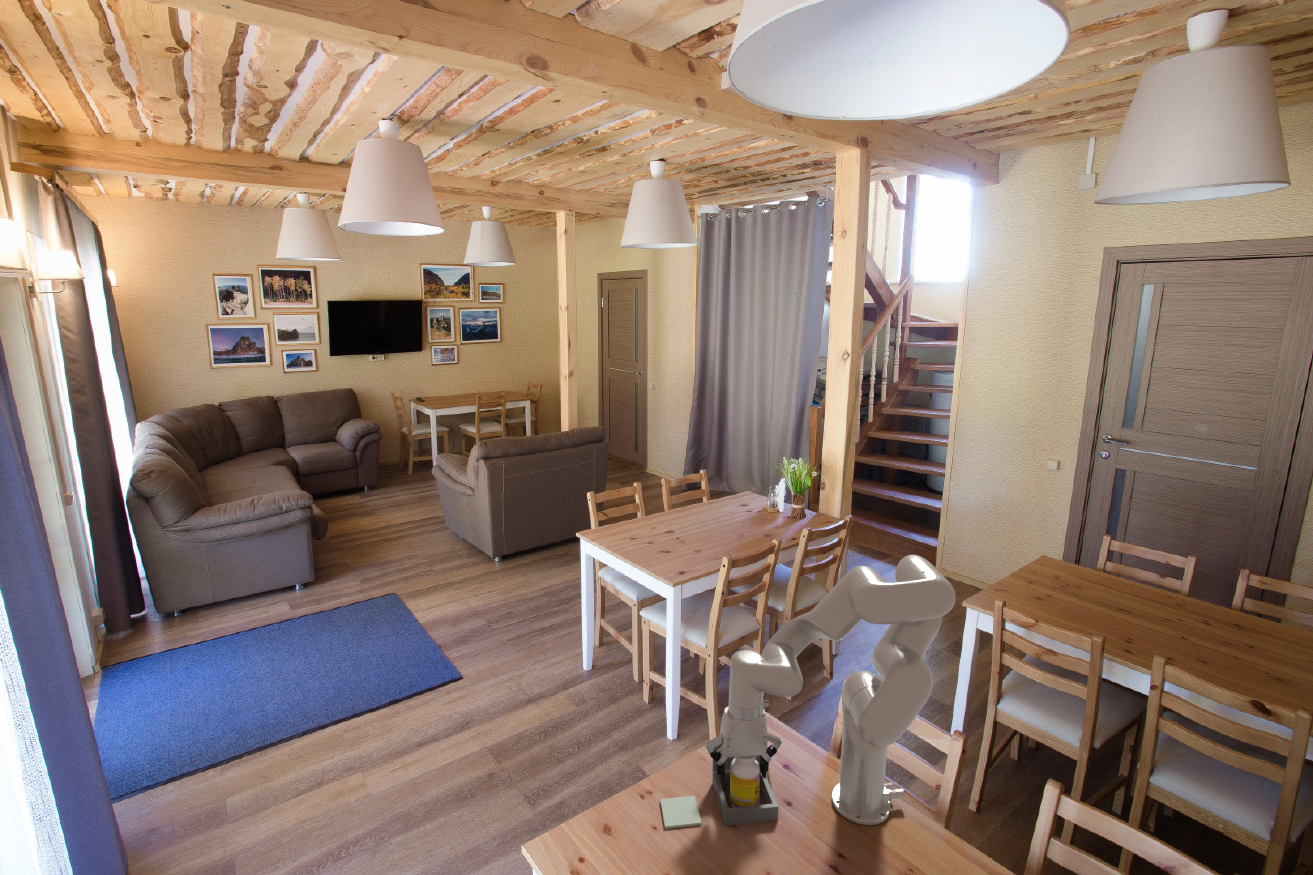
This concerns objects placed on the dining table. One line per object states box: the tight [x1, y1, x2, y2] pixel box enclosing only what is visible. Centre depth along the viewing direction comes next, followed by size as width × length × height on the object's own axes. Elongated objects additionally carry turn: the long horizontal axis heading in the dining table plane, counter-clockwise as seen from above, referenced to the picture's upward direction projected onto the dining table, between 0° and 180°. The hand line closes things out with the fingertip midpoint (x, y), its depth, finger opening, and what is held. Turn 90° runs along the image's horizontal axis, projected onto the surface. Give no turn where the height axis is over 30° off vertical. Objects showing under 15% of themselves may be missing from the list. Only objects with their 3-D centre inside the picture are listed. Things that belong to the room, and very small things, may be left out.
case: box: [711, 745, 779, 827], centre depth 145 cm, size 13×13×11 cm
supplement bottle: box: [729, 756, 761, 808], centre depth 144 cm, size 7×7×13 cm
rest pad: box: [659, 795, 702, 830], centre depth 143 cm, size 8×8×1 cm
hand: (742, 774), depth 144 cm, fingers open, 9 cm apart
